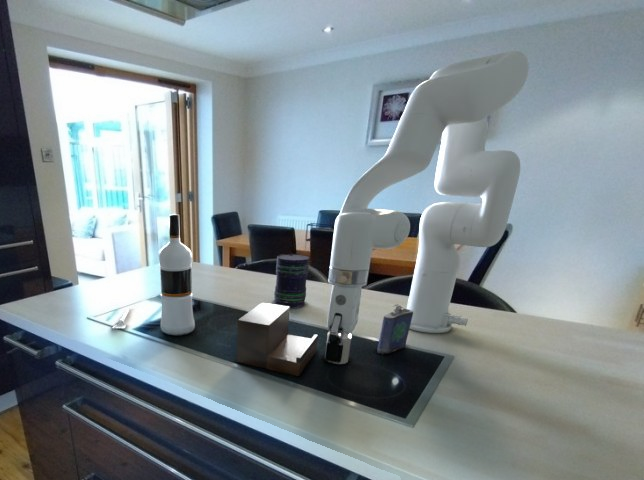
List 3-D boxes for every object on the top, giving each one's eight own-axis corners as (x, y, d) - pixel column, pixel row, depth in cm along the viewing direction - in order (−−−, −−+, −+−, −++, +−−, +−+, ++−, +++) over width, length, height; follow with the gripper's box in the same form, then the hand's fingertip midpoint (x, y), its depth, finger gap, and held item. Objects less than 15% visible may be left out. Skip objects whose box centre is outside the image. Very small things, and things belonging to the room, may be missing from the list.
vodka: (154, 333, 103) (147, 215, 91) (171, 322, 111) (167, 212, 99) (184, 339, 99) (181, 216, 88) (200, 327, 107) (199, 213, 95)
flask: (384, 355, 89) (392, 310, 84) (372, 350, 91) (380, 307, 87) (408, 346, 93) (417, 303, 89) (396, 342, 95) (405, 300, 91)
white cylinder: (350, 357, 88) (353, 332, 86) (345, 366, 84) (349, 340, 82) (327, 352, 90) (330, 328, 88) (322, 361, 86) (325, 336, 84)
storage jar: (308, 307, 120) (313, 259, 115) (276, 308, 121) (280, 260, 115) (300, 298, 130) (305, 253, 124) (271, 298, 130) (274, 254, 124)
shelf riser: (316, 351, 91) (320, 311, 87) (298, 376, 80) (303, 331, 76) (259, 340, 98) (261, 302, 94) (236, 361, 87) (237, 319, 83)
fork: (135, 309, 122) (134, 303, 121) (122, 333, 103) (121, 326, 103) (124, 309, 122) (124, 303, 121) (109, 333, 103) (109, 326, 103)
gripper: (360, 288, 71) (346, 374, 78) (373, 269, 85) (361, 343, 92) (318, 283, 75) (309, 365, 81) (338, 265, 88) (328, 337, 95)
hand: (337, 353), depth 87 cm, fingers open, 7 cm apart
